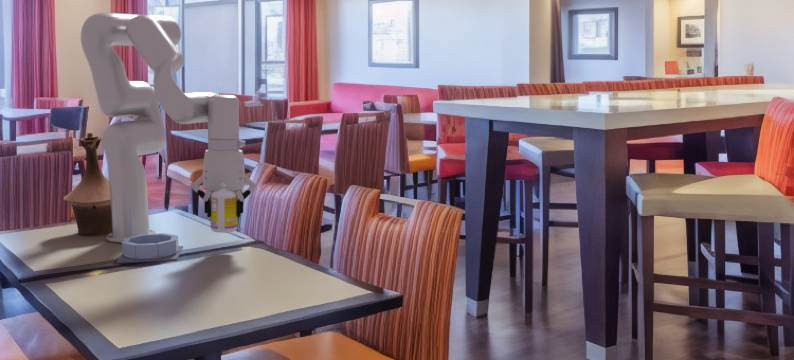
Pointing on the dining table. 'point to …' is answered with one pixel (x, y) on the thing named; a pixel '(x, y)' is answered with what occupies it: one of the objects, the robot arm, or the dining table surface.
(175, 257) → the mat
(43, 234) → the dining table surface
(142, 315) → the dining table surface
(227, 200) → the supplement bottle
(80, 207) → the brown tall tapered piece
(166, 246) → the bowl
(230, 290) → the dining table surface
